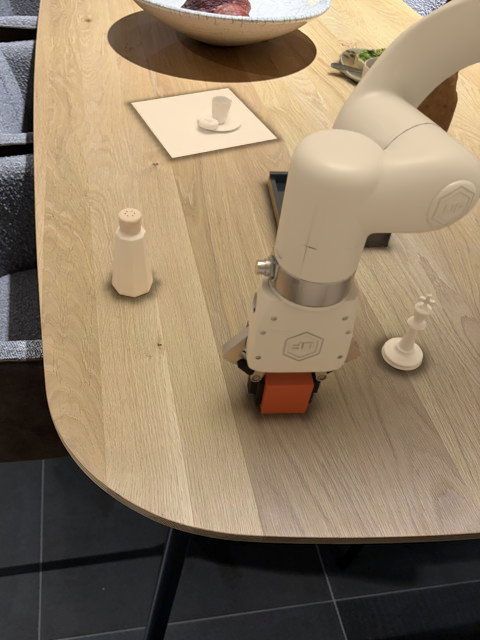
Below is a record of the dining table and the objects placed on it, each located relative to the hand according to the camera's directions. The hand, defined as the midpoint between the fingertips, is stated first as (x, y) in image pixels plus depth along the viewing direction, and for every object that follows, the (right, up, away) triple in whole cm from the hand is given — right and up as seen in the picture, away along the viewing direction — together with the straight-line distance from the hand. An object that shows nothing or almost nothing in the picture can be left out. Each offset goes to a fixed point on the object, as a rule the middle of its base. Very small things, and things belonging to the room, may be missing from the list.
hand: (280, 393), depth 68 cm
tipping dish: (+12, +27, +24) cm, 38 cm away
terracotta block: (0, 0, 0) cm, 0 cm away
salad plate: (+29, +64, +57) cm, 91 cm away
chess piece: (+16, +4, +6) cm, 17 cm away
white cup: (+22, +49, +43) cm, 69 cm away
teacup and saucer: (-9, +48, +40) cm, 63 cm away
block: (+25, +38, +35) cm, 57 cm away
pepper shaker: (-18, +14, +11) cm, 26 cm away
